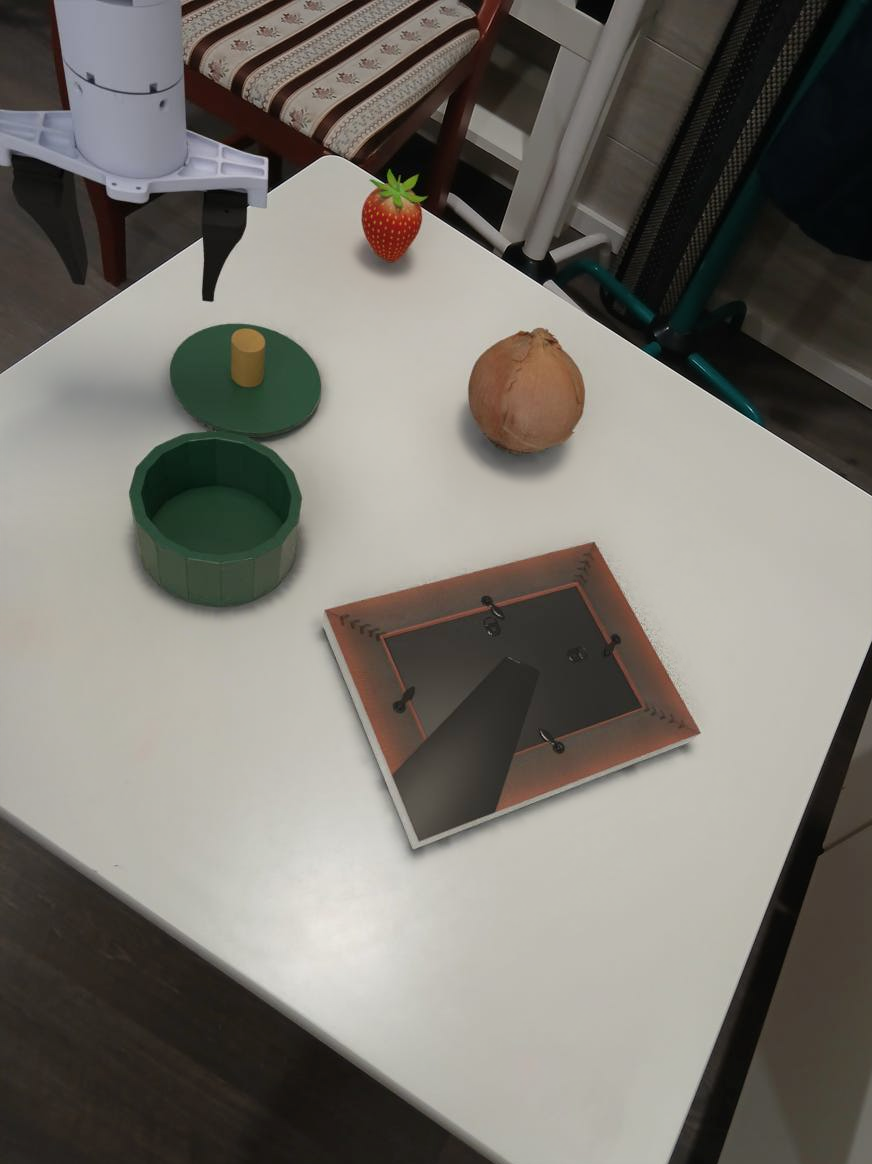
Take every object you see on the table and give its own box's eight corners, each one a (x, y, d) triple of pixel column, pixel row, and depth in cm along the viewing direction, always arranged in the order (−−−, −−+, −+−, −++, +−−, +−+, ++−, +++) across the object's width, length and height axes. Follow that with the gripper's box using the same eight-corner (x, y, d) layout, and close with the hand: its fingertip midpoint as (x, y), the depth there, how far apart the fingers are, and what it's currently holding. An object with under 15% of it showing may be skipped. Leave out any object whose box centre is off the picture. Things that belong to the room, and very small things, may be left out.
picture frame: (411, 852, 52) (686, 745, 60) (419, 841, 50) (702, 732, 58) (320, 625, 57) (583, 558, 66) (324, 607, 55) (595, 539, 64)
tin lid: (139, 395, 62) (133, 347, 58) (222, 313, 68) (222, 264, 64) (273, 466, 63) (276, 423, 59) (345, 378, 69) (352, 333, 65)
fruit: (404, 285, 76) (422, 205, 69) (349, 265, 75) (361, 182, 68) (418, 250, 78) (437, 169, 72) (365, 230, 78) (378, 147, 71)
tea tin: (105, 559, 56) (94, 510, 51) (194, 459, 61) (192, 407, 57) (244, 632, 56) (246, 590, 51) (321, 526, 61) (329, 479, 57)
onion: (488, 421, 75) (513, 304, 69) (584, 457, 72) (618, 339, 66) (435, 446, 67) (459, 318, 62) (540, 488, 64) (575, 357, 59)
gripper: (-54, 75, 39) (10, 311, 50) (271, 136, 43) (261, 341, 54) (-28, -7, 42) (27, 232, 53) (272, 56, 46) (262, 266, 57)
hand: (145, 282), depth 54 cm, fingers open, 7 cm apart
